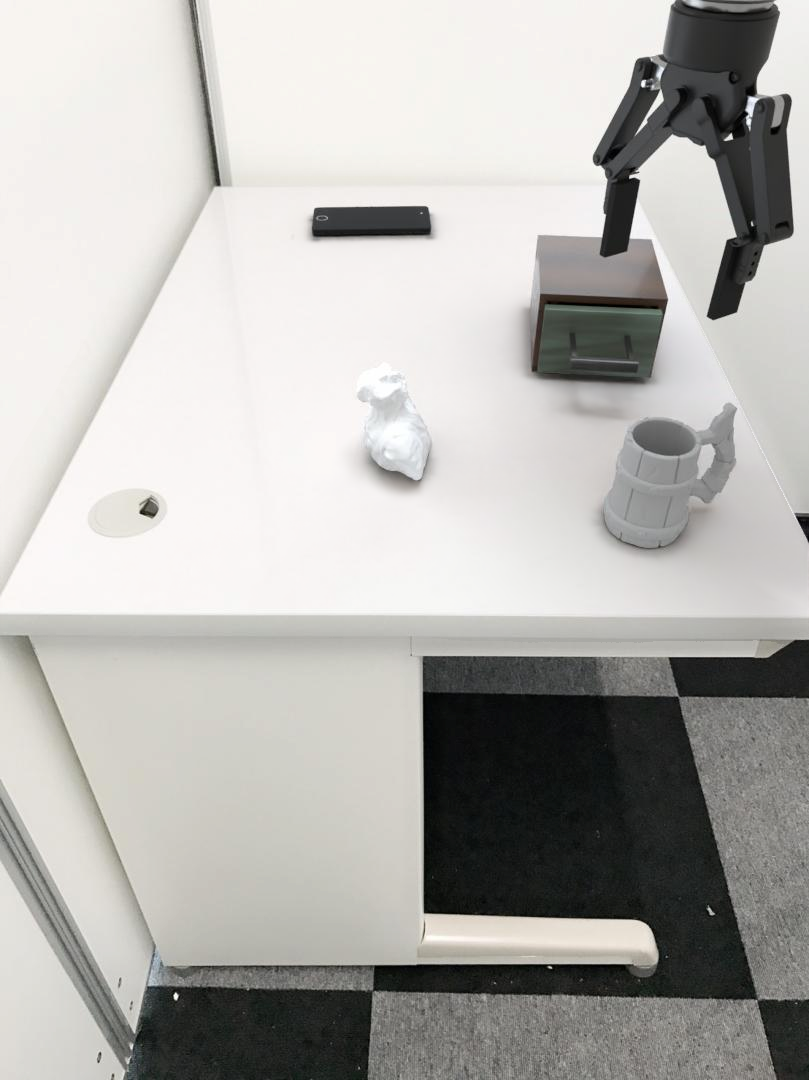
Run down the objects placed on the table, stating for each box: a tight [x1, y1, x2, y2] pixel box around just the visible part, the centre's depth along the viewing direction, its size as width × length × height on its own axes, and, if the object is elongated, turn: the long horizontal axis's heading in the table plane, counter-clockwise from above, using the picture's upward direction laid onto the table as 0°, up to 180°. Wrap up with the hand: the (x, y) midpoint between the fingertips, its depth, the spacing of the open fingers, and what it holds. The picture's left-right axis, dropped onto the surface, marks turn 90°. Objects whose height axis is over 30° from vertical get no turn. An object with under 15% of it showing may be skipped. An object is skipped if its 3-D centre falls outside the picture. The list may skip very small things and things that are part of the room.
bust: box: [355, 362, 433, 481], centre depth 84 cm, size 12×8×11 cm
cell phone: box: [311, 205, 432, 236], centre depth 131 cm, size 9×18×1 cm, turn 92°
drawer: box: [537, 301, 663, 378], centre depth 97 cm, size 21×13×8 cm, turn 174°
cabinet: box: [529, 234, 669, 378], centre depth 102 cm, size 16×14×10 cm
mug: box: [603, 402, 738, 549], centre depth 76 cm, size 8×12×12 cm, turn 106°
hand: (664, 282), depth 74 cm, fingers open, 13 cm apart
